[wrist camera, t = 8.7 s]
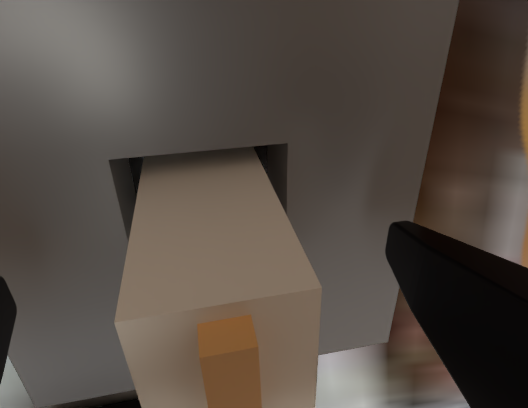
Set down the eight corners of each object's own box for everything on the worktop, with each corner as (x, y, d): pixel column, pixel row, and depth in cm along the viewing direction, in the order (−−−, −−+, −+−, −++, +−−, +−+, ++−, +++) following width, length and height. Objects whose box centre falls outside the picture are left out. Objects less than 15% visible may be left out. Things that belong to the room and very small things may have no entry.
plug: (251, 217, 13) (325, 438, 7) (162, 228, 13) (151, 480, 6) (247, 134, 12) (336, 316, 5) (146, 144, 11) (107, 358, 5)
